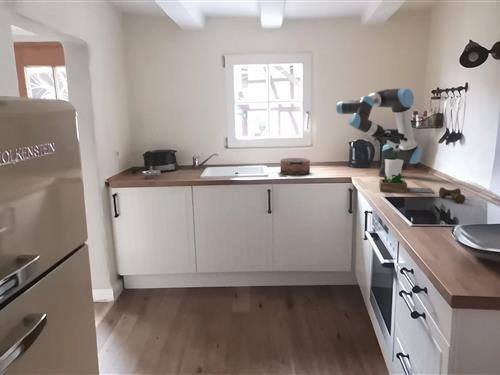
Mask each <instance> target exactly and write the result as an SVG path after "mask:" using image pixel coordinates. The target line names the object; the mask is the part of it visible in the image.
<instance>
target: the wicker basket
mask: <svg viewBox="0 0 500 375" xmlns="http://www.w3.org/2000/svg"><path fill="white" fill-rule="evenodd" d="M281 172H282V173H284V174H286V175H285V176H305V175H306V174H307V175H310V172H311V159H310V158H307V157H306V158H304V157H285V158H281V159H280V173H281ZM284 174H283V175H284ZM307 175H306V176H307Z"/></svg>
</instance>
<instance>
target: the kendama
mask: <svg viewBox="0 0 500 375" xmlns="http://www.w3.org/2000/svg"><path fill="white" fill-rule="evenodd" d="M438 190H439V192H438V196H439V198H440V197H441V198H440V199H443V198H446V197H451V199H452V201H454V202H455V204H459V203H461V204H464V202H465V201H466V196H465V195H464V194H462V191H461V189H460V188H459V187H456V188H454V189H447V188H445V187H443V186H441V187H440V188H439V189H438Z"/></svg>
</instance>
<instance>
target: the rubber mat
mask: <svg viewBox="0 0 500 375" xmlns="http://www.w3.org/2000/svg"><path fill="white" fill-rule="evenodd" d="M407 191H408V192H409V193H411V194H412V193H413V194H414V193H415V194H432V195H433V194H435V192H434V190H433V189H432V188H430V187H413V186H412V187H411V186H410V187H409V186H407Z"/></svg>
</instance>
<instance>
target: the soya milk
mask: <svg viewBox="0 0 500 375" xmlns="http://www.w3.org/2000/svg"><path fill="white" fill-rule="evenodd" d="M403 162H404V160H399V159H396V156H389V158H388V159H385V177H384V179H385V182H384V183H401V180H402V172H403V165H404V163H403Z"/></svg>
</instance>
